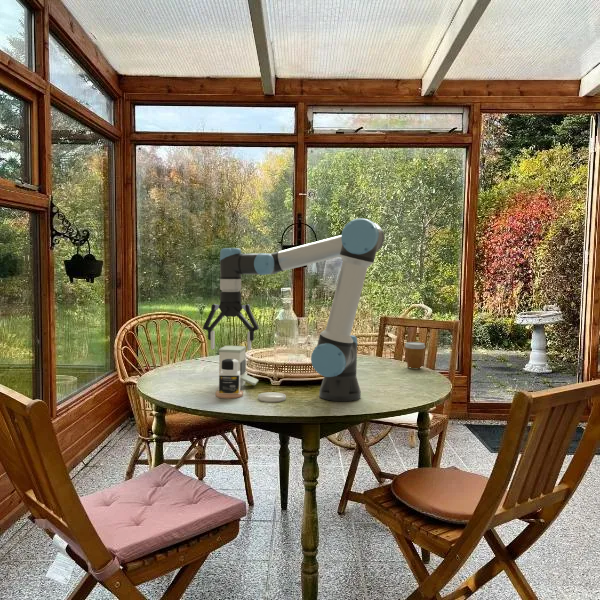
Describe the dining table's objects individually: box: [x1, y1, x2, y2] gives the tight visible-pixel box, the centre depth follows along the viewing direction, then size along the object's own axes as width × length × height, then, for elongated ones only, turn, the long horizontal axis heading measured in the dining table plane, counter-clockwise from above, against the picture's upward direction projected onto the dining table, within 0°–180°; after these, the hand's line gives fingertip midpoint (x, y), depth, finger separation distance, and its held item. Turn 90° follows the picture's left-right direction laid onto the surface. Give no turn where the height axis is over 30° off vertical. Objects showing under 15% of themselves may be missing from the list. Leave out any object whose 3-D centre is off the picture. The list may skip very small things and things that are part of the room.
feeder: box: [218, 345, 259, 389], centre depth 218 cm, size 14×10×15 cm
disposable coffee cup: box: [404, 341, 426, 368], centre depth 264 cm, size 10×10×12 cm
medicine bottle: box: [218, 359, 241, 394], centre depth 202 cm, size 7×7×12 cm
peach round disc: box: [215, 389, 244, 400], centre depth 203 cm, size 10×10×1 cm
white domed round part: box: [257, 391, 287, 403], centre depth 199 cm, size 10×10×1 cm
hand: (231, 349), depth 202 cm, fingers open, 13 cm apart
